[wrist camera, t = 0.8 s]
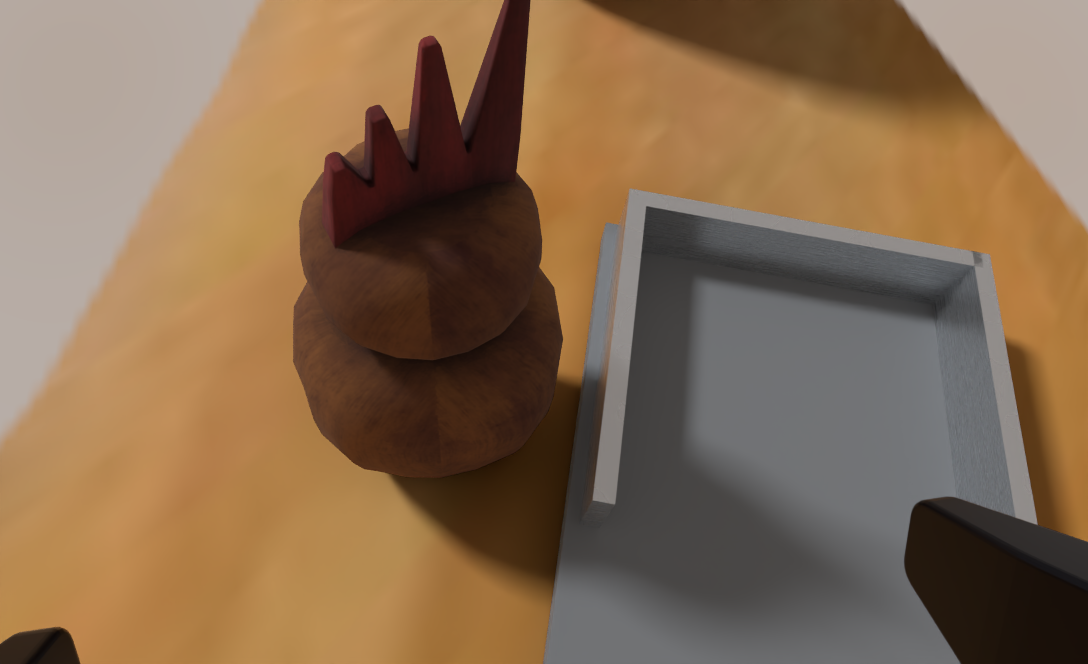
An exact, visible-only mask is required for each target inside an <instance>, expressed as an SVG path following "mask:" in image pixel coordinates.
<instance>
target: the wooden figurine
mask: <svg viewBox="0 0 1088 664" xmlns="http://www.w3.org/2000/svg"><path fill="white" fill-rule="evenodd" d="M529 12H530V0H504V3H503V5H502V8H501V11H500V14H499V17H498V20H497V23H496V25H495V28H494V31H493V34H492V37H491V40H490V43H489V45H488V48H487V51H486V54H485V57H484V60H483V63H482V65H481V68H480V71H479V74H478V77H477V80H476V83H475V86H474V88H473V91H472V94H471V97H470V100H469V103H468V106H467V108H466V111H465V114H464V117H463V120H462V123H461V126H460V123H459V119H458V115H457V111H456V107H455V102H454V98H453V94H452V90H451V86H450V82H449V77H448V73H447V69H446V65H445V61H444V56H443V52H442V48H441V46H440V44H439V43H438V41H437V40H436V38H435V37H434V36H428V37H425V38H423V39H421V41H420V42H419V46H418V55H417V63H416V72H415V81H414V89H413V98H412V107H411V115H410V124H409V129H404V130H399V131H394V128H393V126H392V124H391V122H390V119H389V118H388V116H387V115H386V113H385V111H384V110H383V108H382V107H381V106H380V105H375V106H372V107H369V108H368V109H367V111H366V117H365V141H364V142H362V143H360V144H357V145H356V146H355V147H354V148H353V149H352V150H350V151H349V152H348V153H347V154H346V155H345V156H344V157H343V156H342V155H341V154H340V153H338V152H332V153H330V154H328V155H327V156H326V158H325V166H324V172H323V173H322V174H321V175H320V177H319V178H318V180H317V182H316V183H315V185H314V186H313V188H312V189H311V191H310V192H309V194H308V195H307V197H306V198H305V200H304V201H303V205H302V210H301V215H300V220H299V228H300V256H301V261H302V266H303V271H304V275H305V277H306V279H307V283H306V285H305V287H304V289H303V291H302V293H301V294H300V296H299V298H298V300H297V302H296V304H295V306H294V321H293V362H294V365H295V367H296V370H297V372H298V374H299V377H300V379H301V382H302V384H303V386H304V390H305V393H306V396H307V399H308V402H309V406H310V409H311V412H312V415H313V419H314V421H315V423H316V424H317V426H318V428H319V430H320V432H321V434H322V435H323V436H325V437H326V438H327V439H328V440H329V441H330V442H331V443H332V444H333V445H334V446H336V447H337V448H338V449H339V450H340V451H341V452H342V453H343V454H344V455H345V456H347V457H348V458H349V459H350V460H351V461H352V462H353V463H354V464H356V465H358V466H360V467H361V468H363V469H367V470H374V471H380V472H385V473H390V474H394V475H399V476H404V477H423V478H443V477H447V476H451V475H455V474H458V473H462V472H466V471H472V470H476V469H478V468H481V467H483V466H485V465H488V464H490V463H492V462H495V461H497V460H499V459H502V458H504V457H506V456H509V455H511V454H513V453H515V452H516V451H518V450H519V449H520V448H521V447H522V446H523V445H524V444H525V443H526V441H527V440H528V439H529V437H530V436H531V434H532V433H533V432H534V430H535V429H536V428H537V426H538V425H539V423H540V422H541V421H542V419H543V418H544V416H545V415H546V414H547V412H548V411H549V408H550V405H551V402H552V399H553V396H554V390H555V384H556V378H557V372H558V366H559V360H560V354H561V348H562V342H563V336H562V330H561V325H560V319H559V313H558V307H557V301H556V296H555V290H554V287H553V285H552V284H551V283H550V281H549V280H548V279H547V277H546V276H545V274H544V273H543V272H542V270H541V269H540V268H539V265H540V261H541V254H542V236H541V229H540V221H539V214H538V208H537V205H536V202H535V199H534V196H533V193H532V190H531V189H530V188H529V186H528V185H527V184H526V183H525V182H524V181H523V179H522V178H521V177H520V176H519V175H518V174H517V172H516V169H517V160H518V152H519V143H520V133H521V120H522V106H523V93H524V79H525V66H526V52H527V39H528V25H529Z"/></svg>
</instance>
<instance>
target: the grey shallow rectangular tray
mask: <svg viewBox="0 0 1088 664" xmlns="http://www.w3.org/2000/svg"><path fill="white" fill-rule="evenodd" d="M946 496H950V497H956V498H959V499H962V500H965V501H968V502H971V503H974V504H977V505H980V506H983V507H986V508H989V509H992V510H995V511H998V512H1001V513H1004V514H1007V515H1010V516H1013V517H1016V518H1019V519H1021V520H1024V521H1027V522H1030V523H1033V524H1036V525H1038V524H1037V518H1036V512H1035V507H1034V501H1033V495H1032V490H1031V484H1030V479H1029V473H1028V467H1027V462H1026V456H1025V450H1024V445H1023V439H1022V433H1021V428H1020V422H1019V417H1018V411H1017V405H1016V400H1015V394H1014V388H1013V383H1012V377H1011V371H1010V366H1009V360H1008V355H1007V349H1006V343H1005V338H1004V332H1003V326H1002V321H1001V315H1000V309H999V304H998V298H997V293H996V287H995V281H994V276H993V270H992V264H991V259H990V254H984V253H979V252H973V251H968V250H962V249H957V248H951V247H946V246H941V245H935V244H930V243H924V242H919V241H913V240H908V239H902V238H897V237H891V236H886V235H880V234H875V233H870V232H864V231H859V230H853V229H848V228H842V227H837V226H831V225H826V224H820V223H815V222H810V221H804V220H799V219H793V218H788V217H782V216H777V215H771V214H766V213H760V212H755V211H749V210H744V209H739V208H733V207H728V206H722V205H717V204H711V203H706V202H700V201H695V200H689V199H684V198H678V197H673V196H668V195H662V194H657V193H651V192H646V191H640V190H635V189H629V193H628V196H627V199H626V202H625V206H624V209H623V212H622V215H621V218H620V222H619V225H617V224H611V223H606V225H605V228H604V232H603V235H602V239H601V246H600V254H599V261H598V268H597V276H596V283H595V290H594V297H593V305H592V312H591V319H590V327H589V334H588V341H587V348H586V356H585V363H584V370H583V377H582V385H581V392H580V399H579V407H578V414H577V421H576V428H575V436H574V443H573V450H572V458H571V465H570V472H569V479H568V487H567V494H566V501H565V509H564V516H563V523H562V530H561V538H560V545H559V552H558V560H557V567H556V574H555V581H554V589H553V596H552V603H551V610H550V618H549V625H548V632H547V640H546V647H545V654H544V661H543V664H960V662H959V660H958V659H957V657H956V656H955V654H954V652H953V651H952V649H951V648H950V646H949V645H948V643H947V641H946V640H945V638H944V637H943V635H942V633H941V632H940V630H939V629H938V627H937V625H936V624H935V622H934V621H933V619H932V618H931V616H930V614H929V613H928V611H927V610H926V608H925V606H924V605H923V603H922V602H921V600H920V599H919V597H918V595H917V594H916V592H915V591H914V589H913V587H912V586H911V584H910V582H909V580H908V578H907V575H906V572H905V568H904V555H905V548H906V542H907V536H908V529H909V523H910V516H911V511H912V509H913V507H914V505H915V504H916V503H917V502H919V501H921V500H925V499H932V498H939V497H946Z"/></svg>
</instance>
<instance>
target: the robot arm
mask: <svg viewBox="0 0 1088 664" xmlns="http://www.w3.org/2000/svg"><path fill="white" fill-rule="evenodd" d="M904 568H905V572H906V575H907V578H908V580H909V582H910V584H911V586H912V587H913V589H914V591H915V592H916V594H917V595H918V597H919V599H920V600H921V602H922V603H923V605H924V606H925V608H926V610H927V611H928V613H929V614H930V616H931V618H932V619H933V621H934V622H935V624H936V625H937V627H938V629H939V630H940V632H941V633H942V635H943V637H944V638H945V640H946V641H947V643H948V645H949V646H950V648H951V649H952V651H953V652H954V654H955V656H956V657H957V659H958V660H959V662H960V664H1088V542H1086V541H1084V540H1081V539H1078V538H1075V537H1072V536H1069V535H1066V534H1063V533H1060V532H1057V531H1054V530H1051V529H1048V528H1045V527H1042V526H1039V525H1036V524H1033V523H1030V522H1027V521H1024V520H1021V519H1019V518H1016V517H1013V516H1010V515H1007V514H1004V513H1001V512H998V511H995V510H992V509H989V508H986V507H983V506H980V505H977V504H974V503H971V502H968V501H965V500H962V499H959V498H956V497H950V496H946V497H939V498H932V499H925V500H921V501H919V502H917V503H916V504H915V505H914V507H913V509H912V511H911V516H910V523H909V529H908V536H907V542H906V548H905V555H904ZM0 664H80V661H79V657H78V654H77V651H76V648H75V645H74V642H73V639H72V637H71V635H70V633H69V632H68V631H67V630H66V629H64V628H61V627H52V628H46V629H39V630H32V631H25V632H20V633H17V634H14V635H13V636H11V637H9V638H8V639H7V640H5V641H4V642H2V643H1V644H0Z"/></svg>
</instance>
